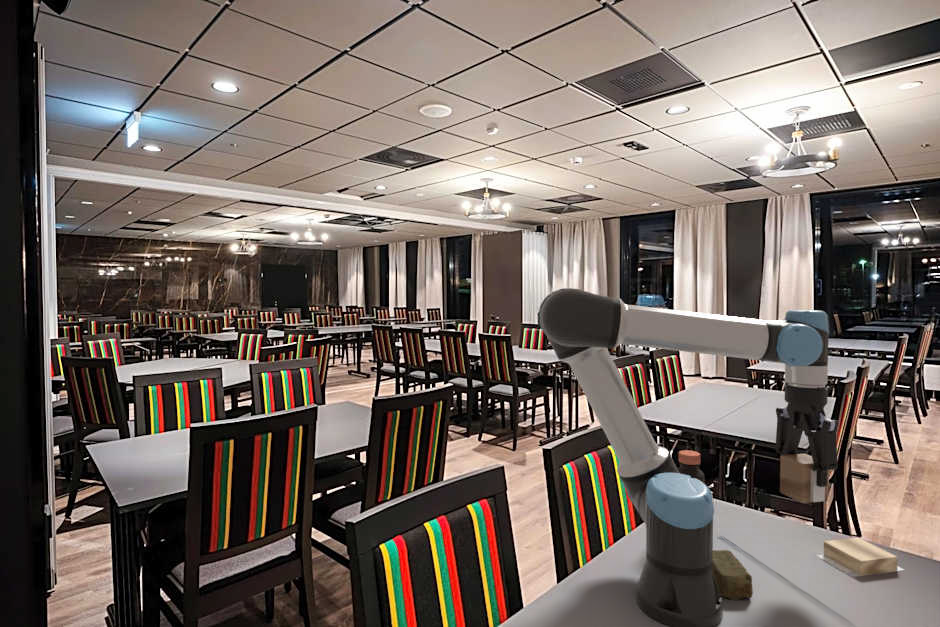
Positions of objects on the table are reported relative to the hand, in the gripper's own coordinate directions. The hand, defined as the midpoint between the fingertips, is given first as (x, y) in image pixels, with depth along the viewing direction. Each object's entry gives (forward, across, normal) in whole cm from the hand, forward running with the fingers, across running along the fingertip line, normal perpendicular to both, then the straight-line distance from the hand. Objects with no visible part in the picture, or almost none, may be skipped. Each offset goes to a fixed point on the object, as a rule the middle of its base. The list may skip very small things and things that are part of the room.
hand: (804, 494), depth 111 cm
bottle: (+17, +22, +12) cm, 30 cm away
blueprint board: (+17, 0, -14) cm, 22 cm away
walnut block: (0, 0, 0) cm, 0 cm away
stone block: (+17, 0, +18) cm, 25 cm away
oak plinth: (+16, 0, -14) cm, 21 cm away
